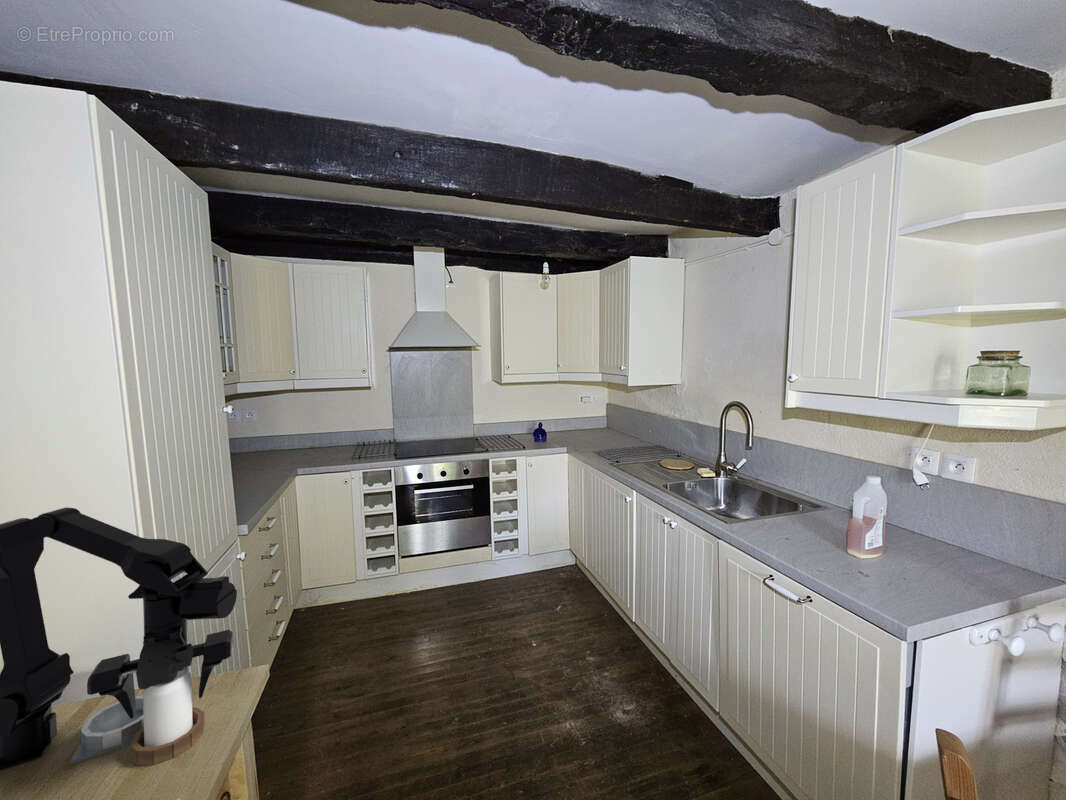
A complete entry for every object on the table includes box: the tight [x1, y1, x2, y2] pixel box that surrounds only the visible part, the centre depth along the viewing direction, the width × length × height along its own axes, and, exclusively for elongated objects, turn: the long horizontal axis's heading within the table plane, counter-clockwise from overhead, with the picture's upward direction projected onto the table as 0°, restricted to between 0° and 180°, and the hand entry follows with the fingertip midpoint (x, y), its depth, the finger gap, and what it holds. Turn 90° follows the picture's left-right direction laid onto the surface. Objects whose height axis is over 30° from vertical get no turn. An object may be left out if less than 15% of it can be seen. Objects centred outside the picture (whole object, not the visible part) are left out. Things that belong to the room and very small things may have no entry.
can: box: [142, 666, 194, 747], centre depth 75 cm, size 6×6×12 cm
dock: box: [70, 695, 144, 765], centre depth 78 cm, size 10×10×3 cm
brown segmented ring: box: [130, 707, 205, 766], centre depth 75 cm, size 10×10×2 cm
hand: (167, 706), depth 75 cm, fingers open, 9 cm apart
